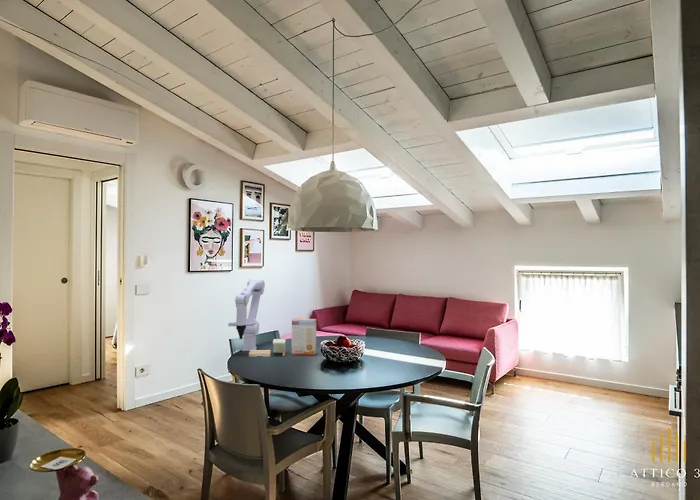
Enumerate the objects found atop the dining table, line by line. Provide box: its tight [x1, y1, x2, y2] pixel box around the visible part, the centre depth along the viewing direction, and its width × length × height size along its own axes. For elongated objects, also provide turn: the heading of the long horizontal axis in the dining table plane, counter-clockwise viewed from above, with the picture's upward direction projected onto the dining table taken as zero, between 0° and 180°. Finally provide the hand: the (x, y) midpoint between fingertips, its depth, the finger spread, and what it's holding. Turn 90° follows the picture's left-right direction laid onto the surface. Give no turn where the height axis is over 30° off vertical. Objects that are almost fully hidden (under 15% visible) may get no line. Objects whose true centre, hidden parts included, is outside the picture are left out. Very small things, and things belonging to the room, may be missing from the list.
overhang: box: [272, 338, 287, 357], centre depth 257 cm, size 12×7×8 cm, turn 7°
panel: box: [248, 349, 272, 358], centre depth 254 cm, size 8×12×2 cm, turn 98°
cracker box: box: [290, 317, 317, 356], centre depth 259 cm, size 14×6×21 cm, turn 84°
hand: (241, 338), depth 253 cm, fingers closed
